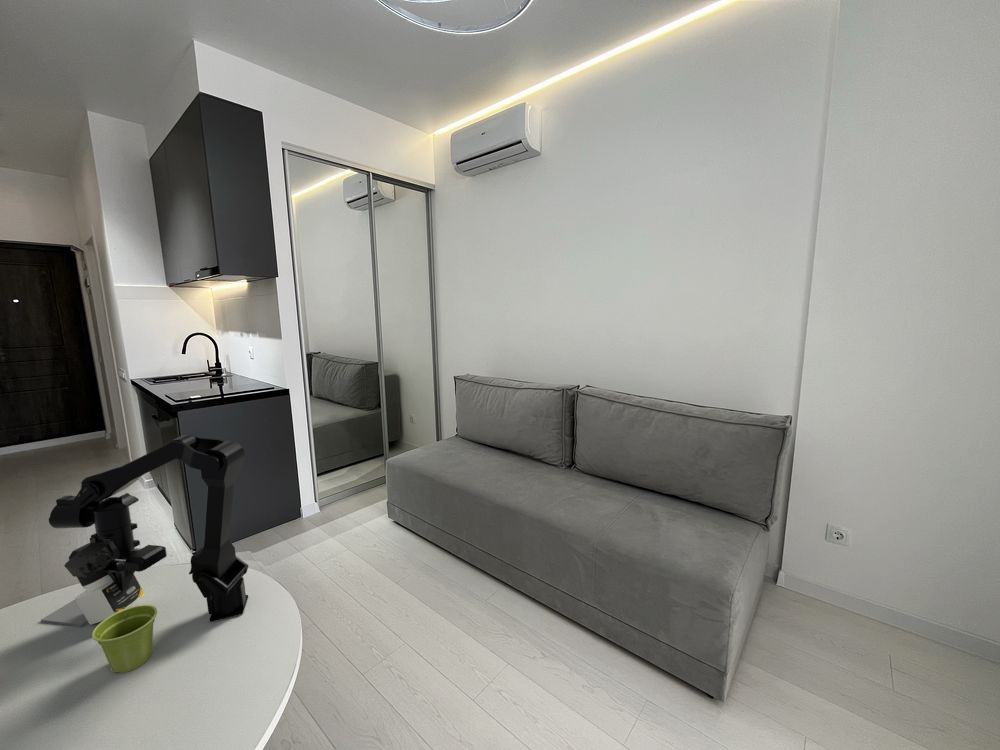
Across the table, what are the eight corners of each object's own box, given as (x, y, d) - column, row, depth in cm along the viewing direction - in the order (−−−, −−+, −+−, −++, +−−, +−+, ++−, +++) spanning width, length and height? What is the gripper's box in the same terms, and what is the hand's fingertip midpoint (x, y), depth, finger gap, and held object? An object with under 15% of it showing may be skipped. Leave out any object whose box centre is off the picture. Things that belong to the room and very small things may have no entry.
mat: (124, 598, 99) (124, 596, 99) (82, 626, 90) (81, 624, 90) (86, 594, 101) (86, 592, 101) (41, 621, 92) (40, 619, 92)
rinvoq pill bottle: (117, 616, 90) (89, 569, 88) (89, 626, 90) (62, 579, 89) (146, 594, 97) (121, 550, 95) (120, 603, 97) (95, 559, 96)
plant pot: (160, 634, 88) (154, 597, 86) (166, 660, 81) (159, 621, 80) (99, 660, 81) (92, 621, 80) (100, 691, 75) (92, 649, 73)
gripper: (32, 542, 83) (45, 611, 86) (110, 549, 81) (122, 620, 83) (93, 515, 94) (104, 577, 97) (163, 520, 92) (173, 584, 94)
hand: (124, 589), depth 92 cm, fingers closed
